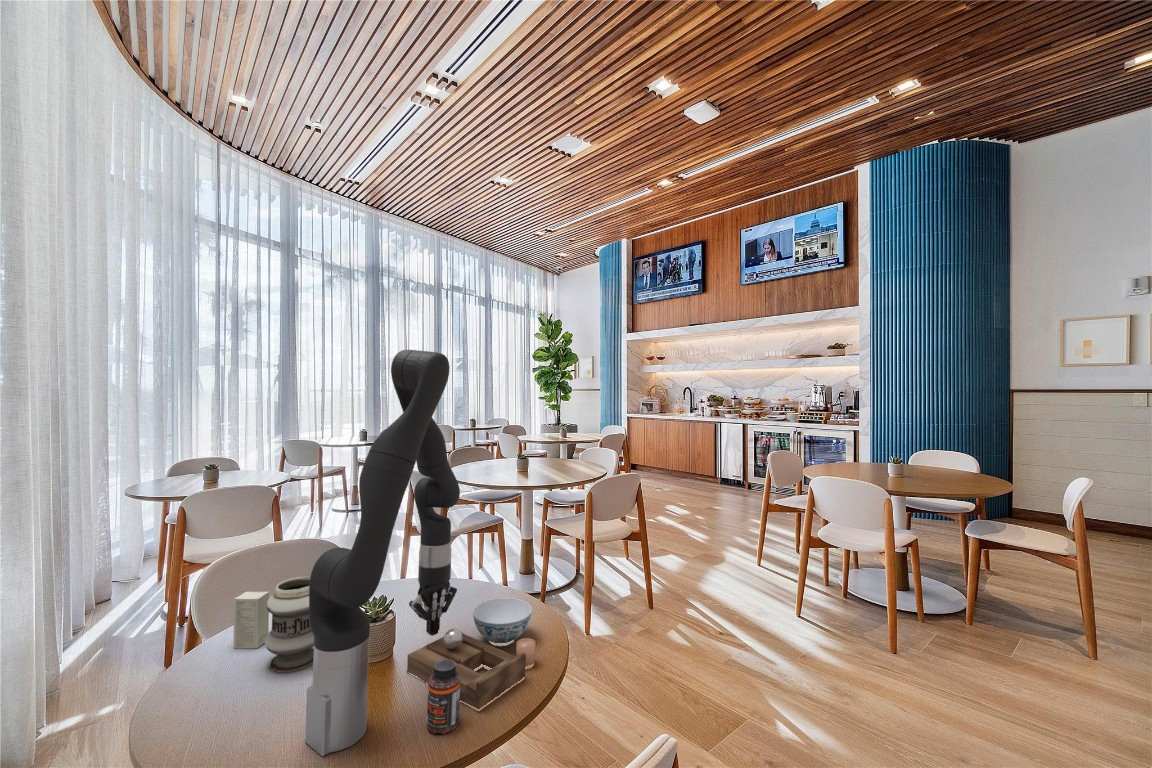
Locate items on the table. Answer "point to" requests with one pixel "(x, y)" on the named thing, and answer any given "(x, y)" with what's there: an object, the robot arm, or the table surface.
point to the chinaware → (502, 619)
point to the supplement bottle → (443, 697)
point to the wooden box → (471, 668)
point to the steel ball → (453, 638)
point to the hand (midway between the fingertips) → (432, 633)
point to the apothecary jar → (290, 626)
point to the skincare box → (251, 619)
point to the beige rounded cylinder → (526, 649)
